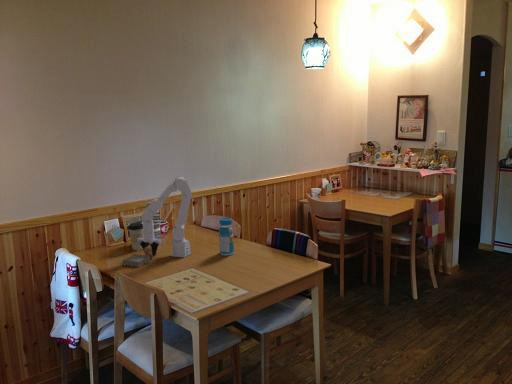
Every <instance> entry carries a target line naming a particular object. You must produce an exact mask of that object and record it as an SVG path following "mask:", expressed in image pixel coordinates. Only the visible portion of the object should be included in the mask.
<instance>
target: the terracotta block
mask: <svg viewBox="0 0 512 384" xmlns="http://www.w3.org/2000/svg"><path fill="white" fill-rule="evenodd" d="M144 251H145V252H144ZM143 252H144V255H147V256H150V260H153V259H155V258H157V257H156V256H157V254H156V255H155V256H153V254H152V248H151V245H148V247H146V248H144V250H143ZM154 257H155V258H154ZM152 258H153V259H152Z"/></svg>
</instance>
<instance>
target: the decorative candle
mask: <svg viewBox="0 0 512 384" xmlns="http://www.w3.org/2000/svg"><path fill="white" fill-rule="evenodd" d="M150 204H151V201H148V202H146V204H145V208H146V207H148V206H149V205H150ZM160 211H161V209H159V210H158V212H157V213H156V214H155V215H153V225H154V237H155V238H156V239H160V240H161V241H162V238H163V237H162V235H161V234H162V230H161V221H160V220H161V215H160V214H161V212H160ZM162 242H163V241H162ZM149 244H151V243H150V242H149Z"/></svg>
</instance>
